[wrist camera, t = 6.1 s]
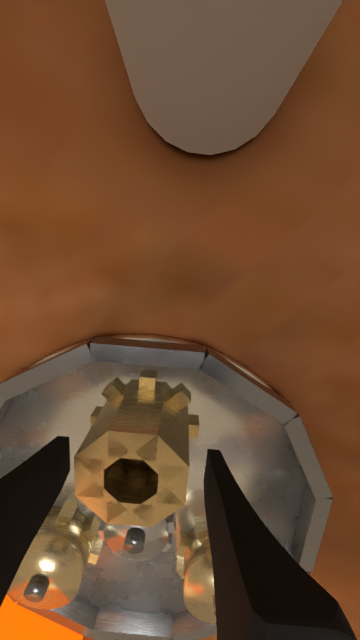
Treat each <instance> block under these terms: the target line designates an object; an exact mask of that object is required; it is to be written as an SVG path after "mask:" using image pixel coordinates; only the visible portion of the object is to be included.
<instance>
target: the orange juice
mask: <svg viewBox="0 0 360 640" xmlns="http://www.w3.org/2000/svg"><path fill="white" fill-rule="evenodd" d="M17 602H18V601H17ZM17 602H13V601H12V600H11V599H10V597H9V596H8V595H7V594H6V596H5V599H4V601H3V603H2V605H1V607H0V640H82V639H83V636H82V635H80V634H78V633H76V632H74V631H72V630H70V629H68V628H65V627H63V626H61V625H59V624H57V623H55V622H53V621H51V620H49V619H46V618H44V617H42V616H40V615H38V614H36V613H34V612H32V611H29V610H27V609H25V608H23V607H21V606H19V605H17Z"/></svg>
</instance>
